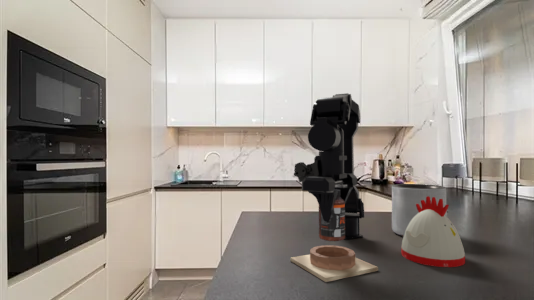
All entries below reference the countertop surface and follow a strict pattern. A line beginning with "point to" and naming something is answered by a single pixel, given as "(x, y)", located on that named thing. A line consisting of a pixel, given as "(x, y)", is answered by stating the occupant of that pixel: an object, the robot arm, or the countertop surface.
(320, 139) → the robot arm
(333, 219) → the supplement bottle
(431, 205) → the kitchen timer
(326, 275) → the collar stand
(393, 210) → the planter
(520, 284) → the countertop surface
